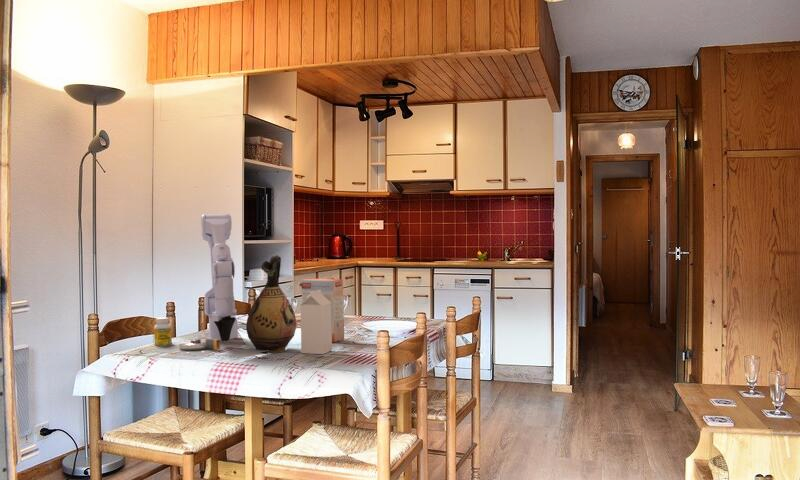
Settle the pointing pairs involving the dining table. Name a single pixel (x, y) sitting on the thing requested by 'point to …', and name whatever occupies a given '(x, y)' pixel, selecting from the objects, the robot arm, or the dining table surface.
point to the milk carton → (316, 324)
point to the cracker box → (334, 294)
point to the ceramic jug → (271, 314)
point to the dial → (200, 344)
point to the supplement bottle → (162, 332)
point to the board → (176, 350)
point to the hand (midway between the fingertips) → (225, 340)
